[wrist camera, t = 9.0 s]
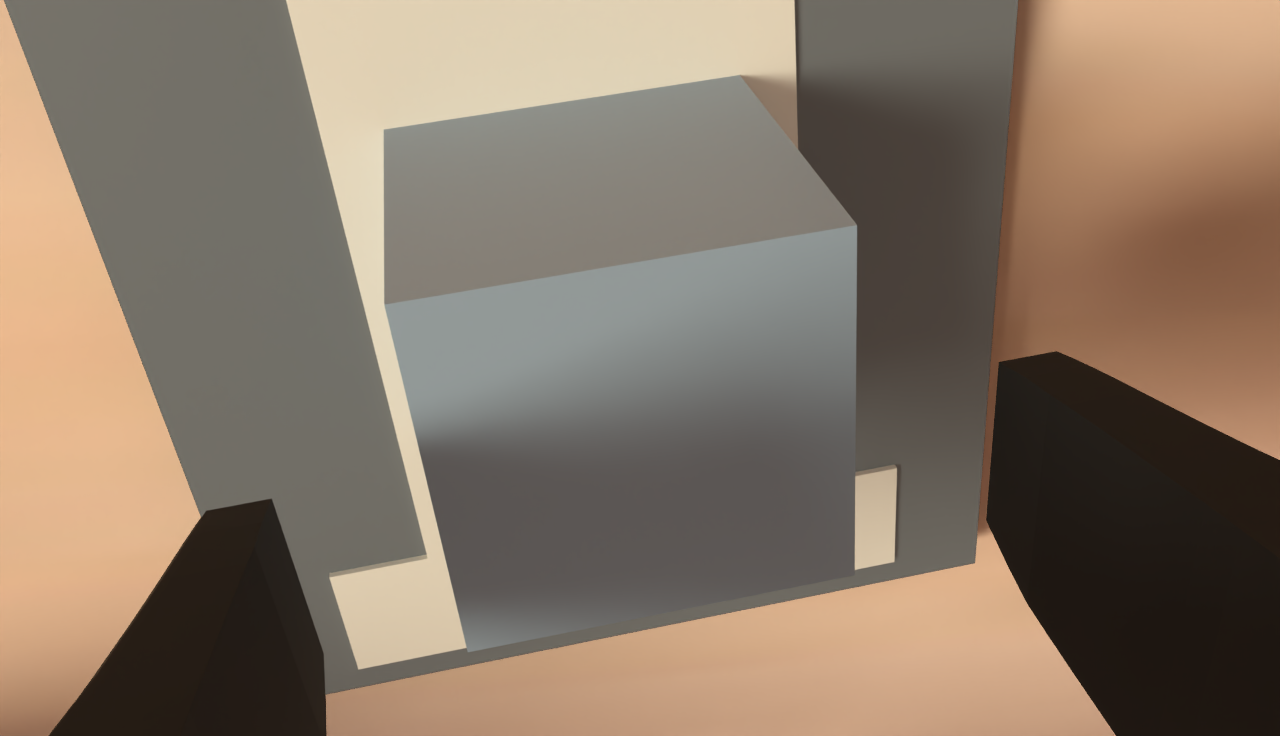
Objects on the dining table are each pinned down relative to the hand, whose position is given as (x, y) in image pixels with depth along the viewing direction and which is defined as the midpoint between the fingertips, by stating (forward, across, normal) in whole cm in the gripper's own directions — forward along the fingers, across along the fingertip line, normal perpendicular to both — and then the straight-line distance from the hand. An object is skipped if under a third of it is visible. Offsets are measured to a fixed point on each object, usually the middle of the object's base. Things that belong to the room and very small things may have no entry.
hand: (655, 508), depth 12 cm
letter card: (+6, 0, 0) cm, 6 cm away
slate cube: (+5, 0, 0) cm, 5 cm away
